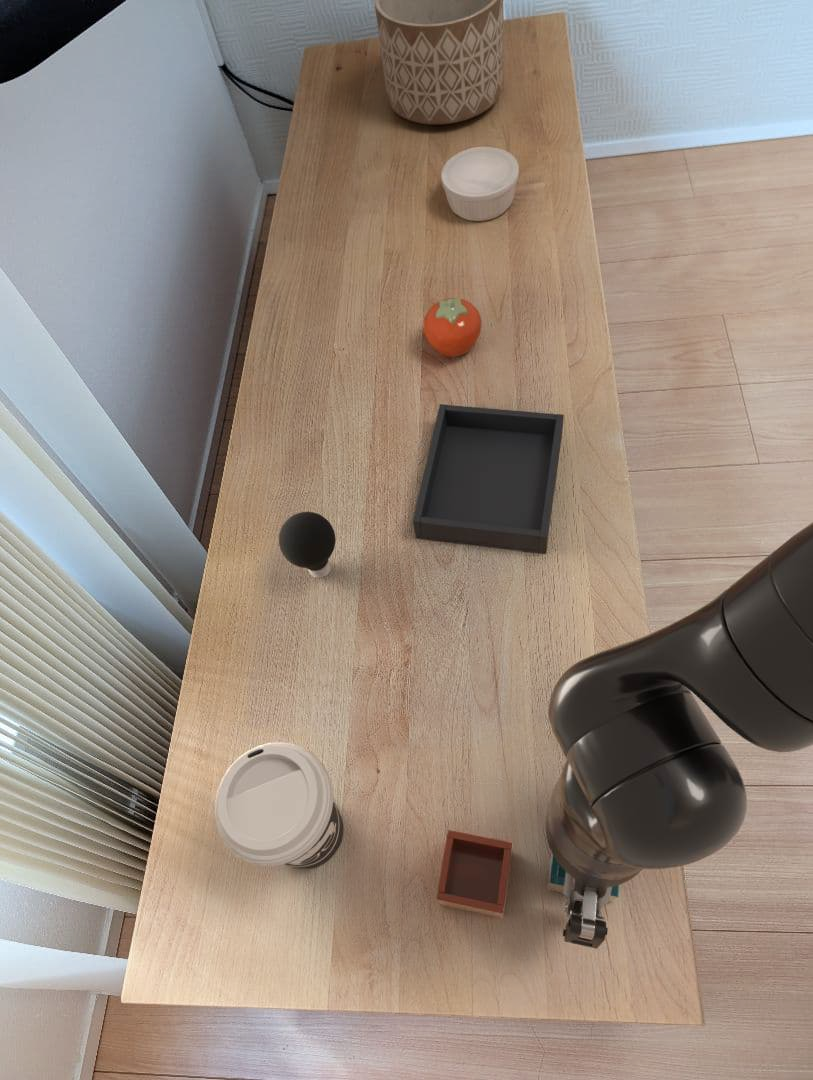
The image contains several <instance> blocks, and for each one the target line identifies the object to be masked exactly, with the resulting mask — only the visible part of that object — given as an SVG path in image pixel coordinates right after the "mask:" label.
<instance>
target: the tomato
mask: <svg viewBox="0 0 813 1080" xmlns="http://www.w3.org/2000/svg"><path fill="white" fill-rule="evenodd" d="M422 328H423V332H424V335H425V338H426V340H427V342H428V344H429V345H430V347H431V348H432V349H433V350H434V351H435V352H437V353H438V354H440V355H441V356H443V357H448V358H456V357H461V356H463V355H465V354H467V353H469V351H471V349H472V348H473V347H474V346H475V345H476V344H477V342H478V339H479V337H480V336H481V331H482V317H481V314H480V312H479V310H478V309H477V307H476V306H475V305H473V303H471V302H470V301H468V300H466V299H463V298H459V297H447V298H444V299H441V300H439V301H437V302H436V303H434V304H433V305H431V306H430V307H429V308H428V310H427V312H426V314H425V316H424V317H423V327H422Z"/></svg>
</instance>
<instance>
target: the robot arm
mask: <svg viewBox="0 0 813 1080" xmlns="http://www.w3.org/2000/svg"><path fill="white" fill-rule="evenodd" d="M692 693H693V694H694V695H695V697H697V698H698V699H699V700H701V702H702V703H703V704H704V705H705V706H706V707H707V708H708V709H709V710H710V711H711V712H712V713H713V714H715V716H716V717H717V718H718V719H719V720H721V722H723V723H724V724H725V725H726V726H727V727H728V728H730V729H731V730H732V731H733V732H734V733H736V734H737V735H738V736H740V737H741V738H743V740H746V741H747V742H749V743H750V744H753V745H754V746H756V747H758V748H761V749H764V750H766V751H770V752H774V753H775V752H776V753H791V752H796V751H801V750H803V749H806V748H808V747H809V748H810V747H812V746H813V522H811V523H809V524H808V525H807V526H805V527H803V528H802V529H801V530H800V531H798V532H796V533H795V534H794V535H792V536H791V537H790V538H789V539H788V540H786V541H785V542H784V543H782V544H781V545H780V546H779V547H778V548H776V549H775V550H773V551H772V552H771V553H770V554H768V555H767V556H766V557H765V558H764V559H762V560H761V561H760V562H758V563H757V564H756V565H755V566H754V567H753V568H751V569H750V570H748V571H747V572H746V573H745V574H744V575H742V576H741V577H740V578H739V579H737V580H736V581H735V582H733V583H732V584H731V585H730V586H729V587H728V588H727V589H725V590H724V591H722V592H721V593H720V594H719V595H718V596H716V597H715V598H714V599H713V600H711V601H710V602H708V603H706V604H705V605H703V606H702V607H700V608H698V609H696V610H695V611H694V612H692V613H690V614H688V615H686V616H684V617H682V618H680V619H679V620H677V621H675V622H673V623H670V624H669V625H666V626H664V627H662V628H660V629H658V630H655V631H653V632H651V633H650V634H646V635H645V636H641V637H639V638H637V639H634V640H631V641H628V642H625V643H623V644H619V645H617V646H614V647H611V648H607V649H605V650H602V651H599V652H596V653H594V654H592V655H590V656H587V657H585V658H583V659H581V660H579V661H578V662H576V663H574V664H573V665H571V666H570V667H569V668H568V669H566V670H565V671H564V673H563V674H562V675H561V676H560V677H559V679H558V681H557V682H556V684H555V685H554V687H553V690H552V692H551V695H550V699H549V700H550V701H549V704H548V718H549V719H548V721H549V724H550V727H551V730H552V732H553V734H554V737H555V740H556V742H557V743H558V745H559V747H560V749H561V751H562V752H563V755H564V757H565V758H566V761H565V762H564V765H563V767H562V769H561V774H560V775H559V777H558V778H557V780H556V782H555V784H554V786H553V789H552V792H551V796H550V799H549V800H550V801H549V804H548V807H547V813H546V816H545V837H546V841H547V845H548V847H549V849H550V853H551V852H552V854H553V856H554V857H555V859H556V861H557V862H558V863H559V865H560V866H561V867H562V868H563V869H564V870H565V871H566V872H565V878H564V893H563V895H564V896H565V897H566V898H567V900H566V902H565V906H564V913H565V917H566V918H568V920H567V922H566V923H565V928H563V929H562V937H564V938H563V939H564V941H563V942H564V943H567V944H568V943H569V944H573V945H577V946H581V947H588V948H592V949H598V948H599V947H600V946H601V945H602V944H603V943H604V942H605V940H606V936H608V932H609V931H608V930H609V928H608V927H607V921H606V920H605V917H604V916H602V912H601V911H602V906H606V905H609V903H610V902H609V901H610V895H611V890H612V887H613V886H617V885H619V886H620V885H622V884H624V883H627V882H628V881H630V880H632V879H634V878H635V877H636V876H637V875H638V874H640V872H641V871H643V870H663V869H672V868H680V867H684V866H687V865H691V864H693V863H696V862H698V861H701V860H703V859H705V858H708V857H709V856H712V855H714V854H715V853H717V852H719V851H720V850H721V849H723V848H724V847H725V846H726V845H728V844H729V843H730V842H731V841H732V839H733V838H734V837H735V836H736V835H737V834H738V833H739V831H740V829H741V828H742V826H743V824H744V821H745V819H746V814H747V811H748V810H747V809H748V799H747V790H746V785H745V782H744V780H743V779H744V778H743V777H742V775H741V773H740V770H739V768H738V767H737V765H736V764H735V763H736V762H734V759H733V758H732V757H731V754H730V753H729V752H728V750H727V749H726V746H724V745H723V744H722V741H721V739H720V737H719V736H718V734H717V732H716V731H715V729H714V728H713V726H712V724H711V722H710V721H709V719H708V718H707V716H706V714H705V713H704V711H703V710H702V708H701V706H700V705H699V703H698V702H697V700H696V698H695V697H694V695H693V694H692Z"/></svg>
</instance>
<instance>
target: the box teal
mask: <svg viewBox="0 0 813 1080" xmlns="http://www.w3.org/2000/svg"><path fill="white" fill-rule="evenodd" d="M549 858H550V859H549V867H548V878H547V887H546V890H548V891H551V892H556V893H557V892H558V893H563V894H564V878H565V872H566V871H565V870H564V869H563V868H562V867H561V866H560V865H559V863H558V862H557V861H556V859H555V857H554V856H553V854H552V852H551V851H550V857H549ZM619 896H620V885H617V886H613V887H612V890H611V895H610V901H609V903H611V904H612V903H613V902H614V901H616V900H617V899H618V898H619Z"/></svg>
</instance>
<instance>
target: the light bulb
mask: <svg viewBox="0 0 813 1080" xmlns="http://www.w3.org/2000/svg"><path fill="white" fill-rule="evenodd" d="M278 534H279V535H278V546H279V550H280V552H281V555H283V557H284V558H285V559H286V561H288V562H289V563H290V564H292V565H294V566H296V567H299V568H303V569H305V568H306V569H307V571H308V573H309V575H311V576H312V577H313V578H317V579H319V578H323V577H325V576H327V575H328V574H329V573H330V570H331V563H330V560H329V559H330V557H331V556H332V554H333V553H334V550H335V548H336V541H337V540H336V532H335V530H334V528H333V525H332V523H331V522H330V521H329V520H328V519H327V518H326V517H324V516H323V515H321V514H319V513H317V512H313V511H302V512H297V513H295V514H292V515H291V516H289V518H287V519H286V520H285V521H284V523H283V525H282V526H281V528H280V531H279V533H278Z"/></svg>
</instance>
